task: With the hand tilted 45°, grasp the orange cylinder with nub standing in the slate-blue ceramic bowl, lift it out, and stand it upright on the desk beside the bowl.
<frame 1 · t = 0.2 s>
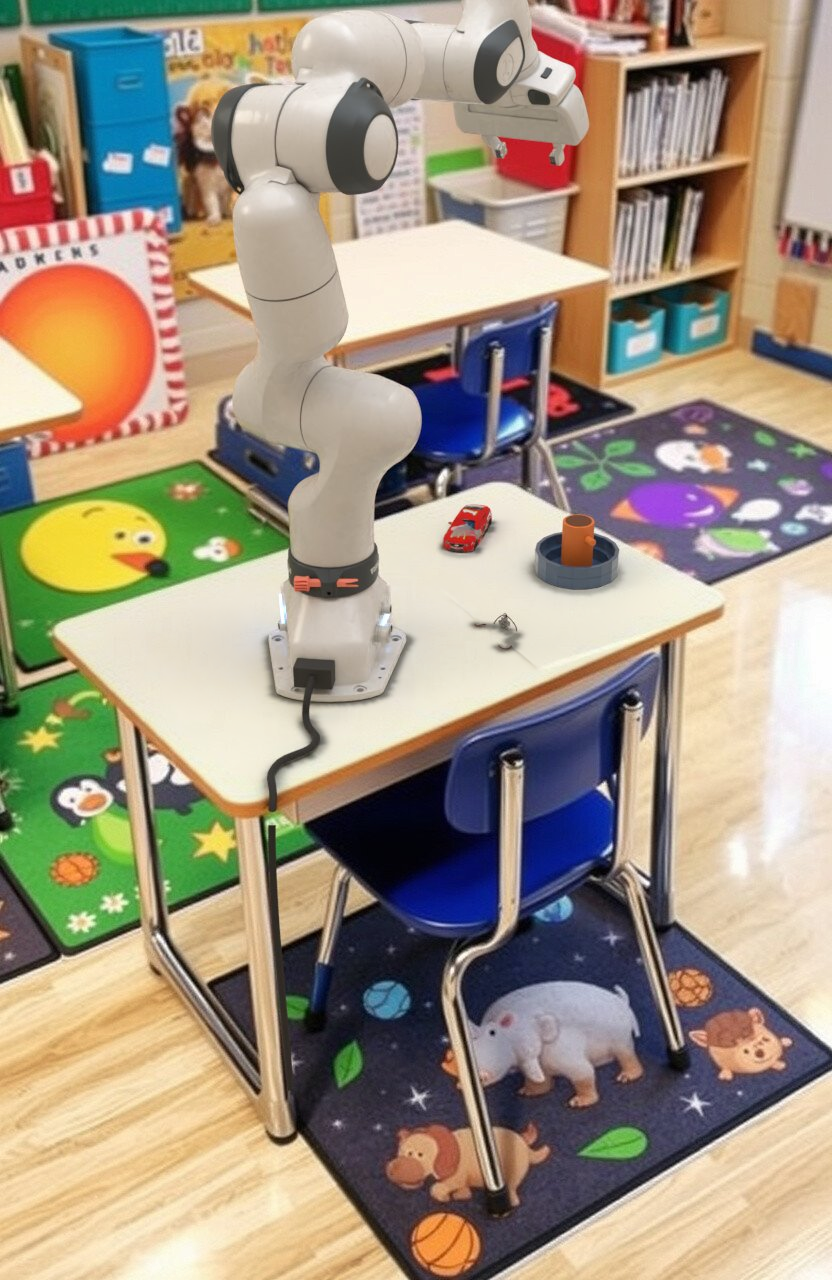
hand: (529, 159, 205), 54 cm above the table, tool tilted 30°, fingers open, 8 cm apart
pendant: (498, 635, 192), on the table
bowl: (576, 573, 207), on the table
race car: (467, 538, 218), on the table
orange cylinder with nub: (576, 569, 207), point 1 cm above the table, touching bowl
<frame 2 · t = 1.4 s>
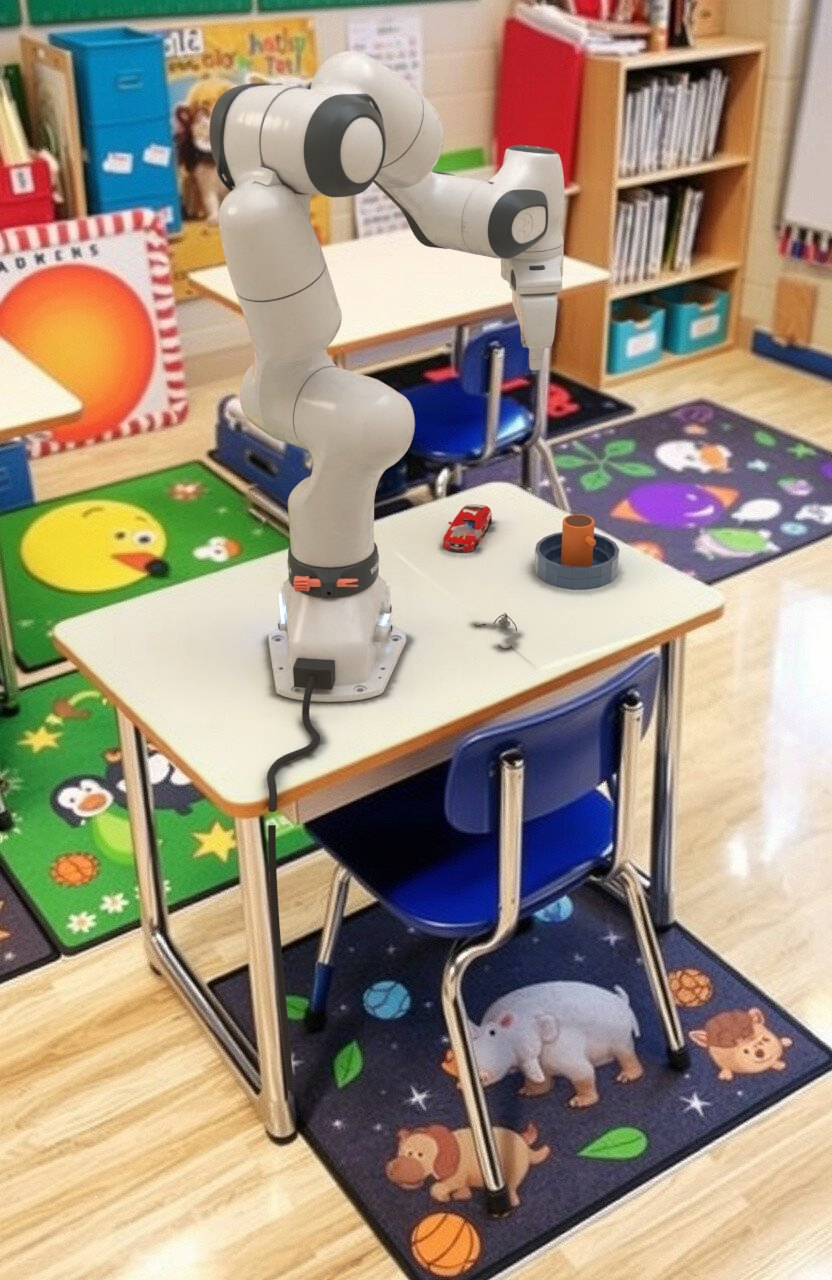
hand: (531, 357, 204), 29 cm above the table, tool pointing down, fingers open, 8 cm apart
nothing on the table moved.
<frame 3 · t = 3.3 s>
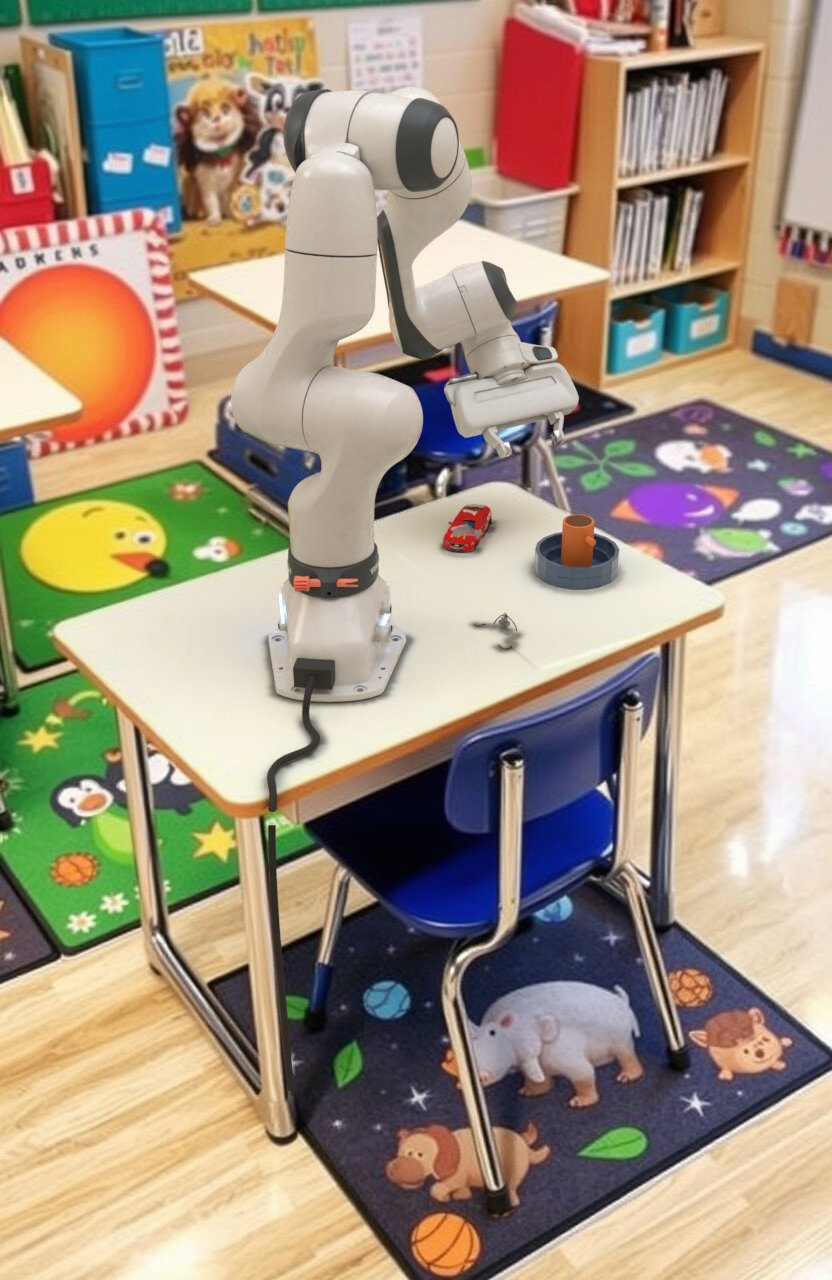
hand: (533, 449, 209), 15 cm above the table, tool tilted 45°, fingers open, 8 cm apart
nothing on the table moved.
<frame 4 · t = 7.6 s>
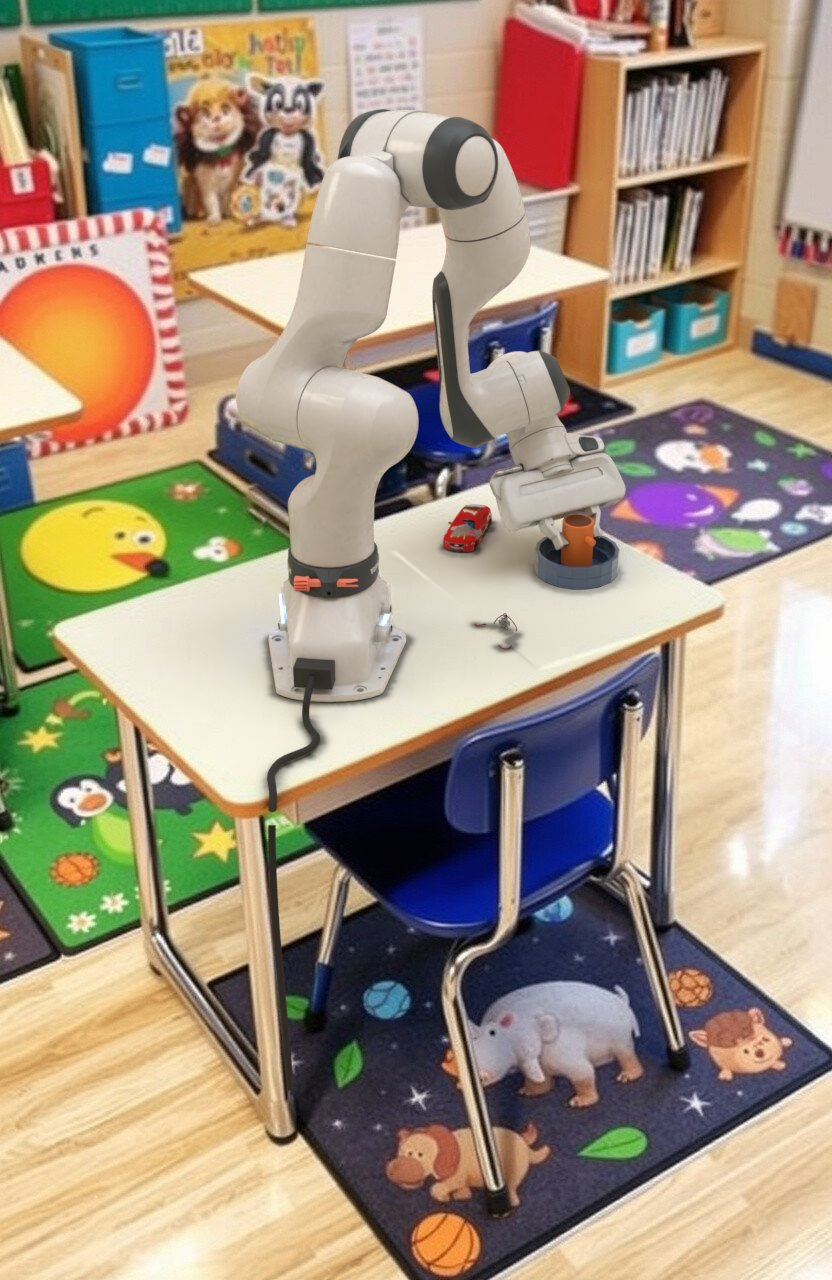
hand: (580, 543, 204), 5 cm above the table, tool tilted 45°, fingers closed on orange cylinder with nub, 4 cm apart
orange cylinder with nub: (576, 569, 207), point 1 cm above the table, touching bowl, gripper
everything else where it was.
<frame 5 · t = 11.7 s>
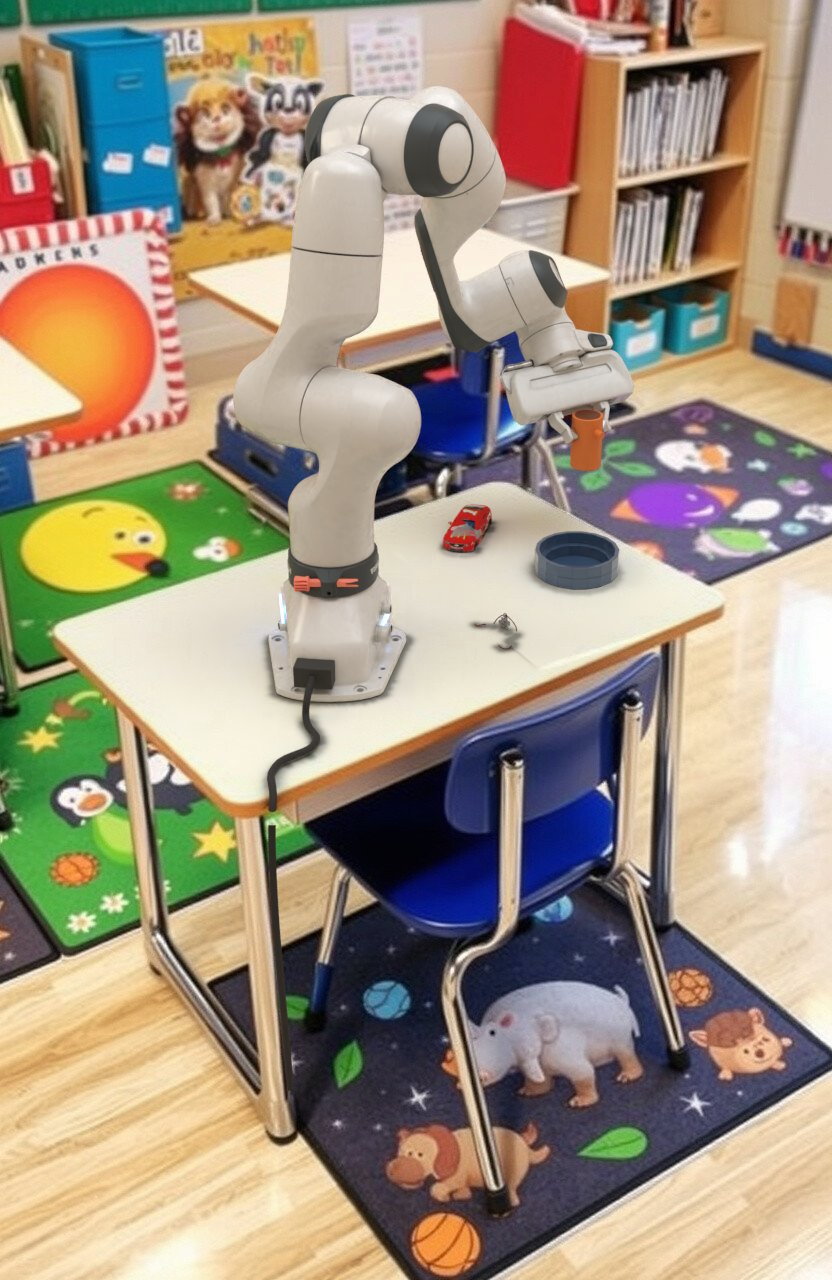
hand: (589, 437, 207), 17 cm above the table, tool tilted 45°, fingers closed on orange cylinder with nub, 4 cm apart
orange cylinder with nub: (585, 464, 210), point 13 cm above the table, touching gripper
everything else where it was.
when the fingers open (5 cm above the table, at t = 15.8 s): orange cylinder with nub stays where it is, on the table.
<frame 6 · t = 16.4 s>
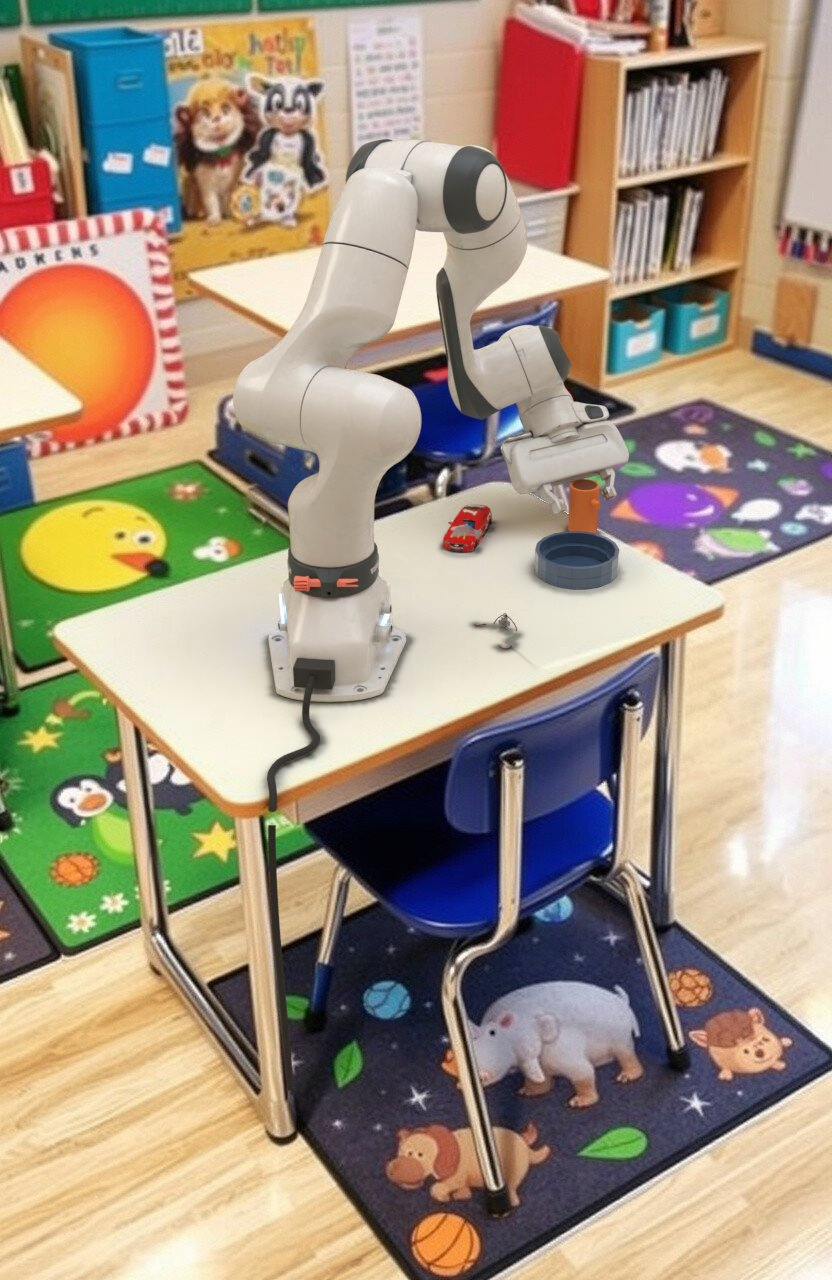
hand: (586, 505, 216), 5 cm above the table, tool tilted 45°, fingers open, 8 cm apart
orange cylinder with nub: (582, 531, 219), on the table
everything else where it was.
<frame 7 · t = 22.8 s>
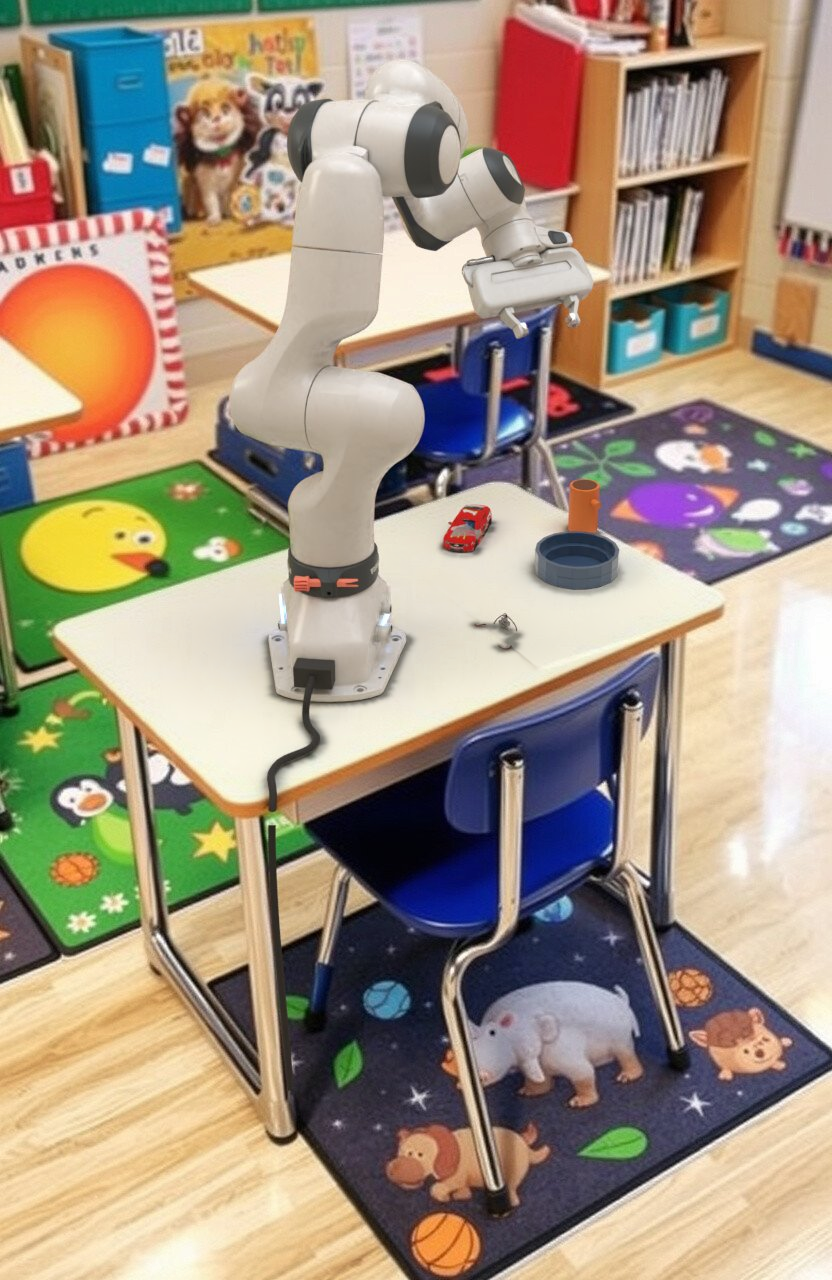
hand: (549, 330, 213), 29 cm above the table, tool tilted 45°, fingers open, 8 cm apart
nothing on the table moved.
at the end: orange cylinder with nub inside the target area (0.0 cm from its centre), on the table; orange cylinder with nub tilted 0°; the gripper is holding nothing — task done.
